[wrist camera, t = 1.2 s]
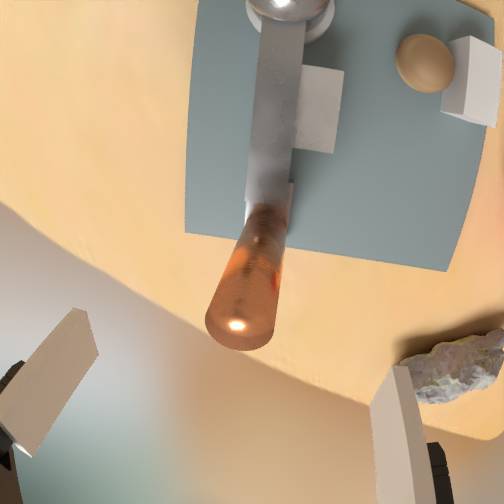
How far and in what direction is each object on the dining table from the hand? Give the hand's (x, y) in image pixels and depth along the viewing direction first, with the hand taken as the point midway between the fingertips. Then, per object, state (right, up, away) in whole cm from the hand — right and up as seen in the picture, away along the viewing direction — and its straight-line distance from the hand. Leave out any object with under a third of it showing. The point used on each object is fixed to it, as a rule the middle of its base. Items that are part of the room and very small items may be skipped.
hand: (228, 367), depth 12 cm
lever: (+3, +15, +8) cm, 17 cm away
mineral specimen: (+24, -7, +19) cm, 31 cm away
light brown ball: (+13, +18, +6) cm, 23 cm away
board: (+8, +16, +9) cm, 20 cm away
